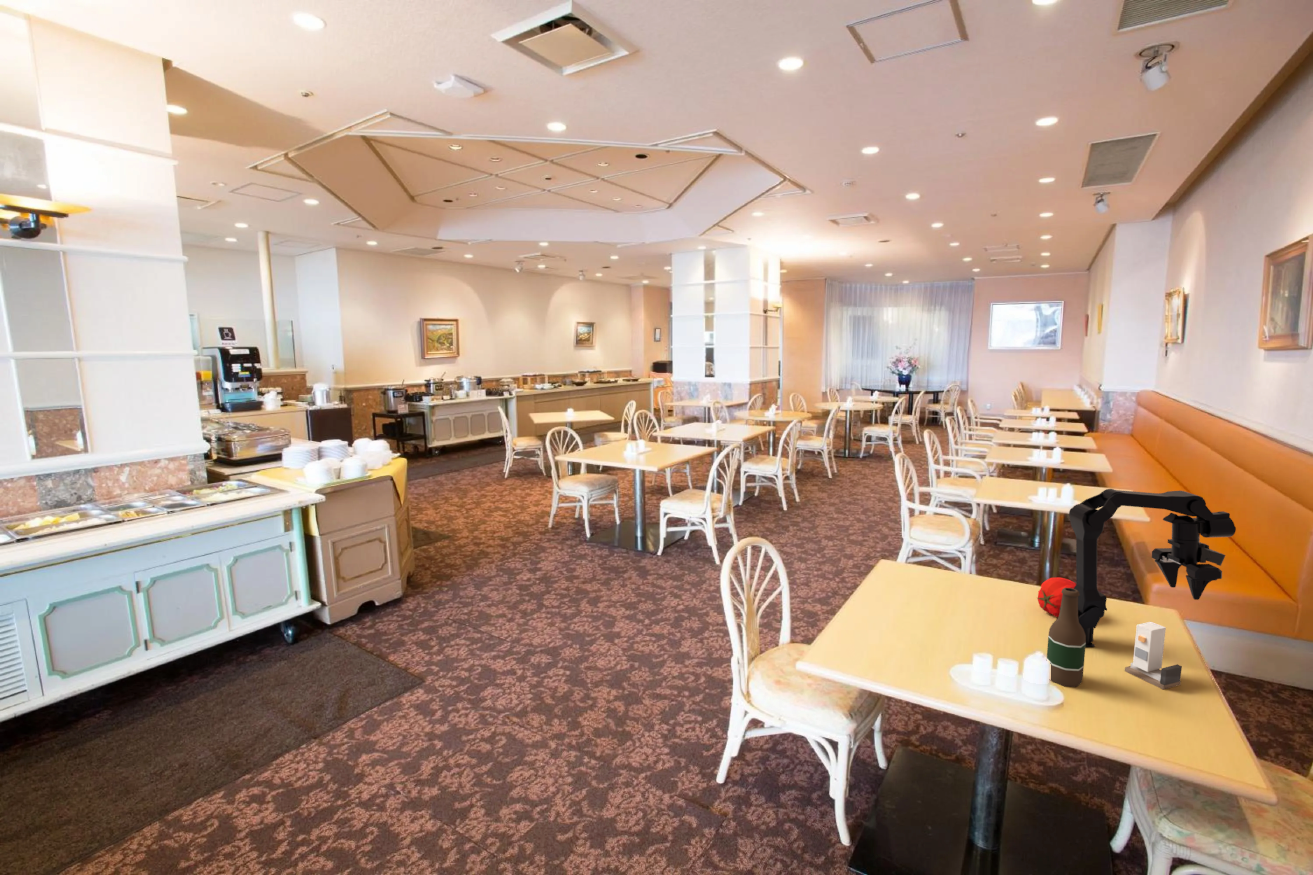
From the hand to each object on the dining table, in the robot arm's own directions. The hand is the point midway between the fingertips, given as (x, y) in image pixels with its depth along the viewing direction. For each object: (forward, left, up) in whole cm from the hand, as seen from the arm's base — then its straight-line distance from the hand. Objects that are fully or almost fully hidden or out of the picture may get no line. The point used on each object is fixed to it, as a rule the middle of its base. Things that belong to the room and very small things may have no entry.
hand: (1184, 593), depth 166 cm
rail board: (-19, -17, -16) cm, 30 cm away
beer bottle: (-41, -18, -16) cm, 48 cm away
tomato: (-20, +20, -16) cm, 33 cm away
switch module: (-19, -15, -13) cm, 28 cm away
